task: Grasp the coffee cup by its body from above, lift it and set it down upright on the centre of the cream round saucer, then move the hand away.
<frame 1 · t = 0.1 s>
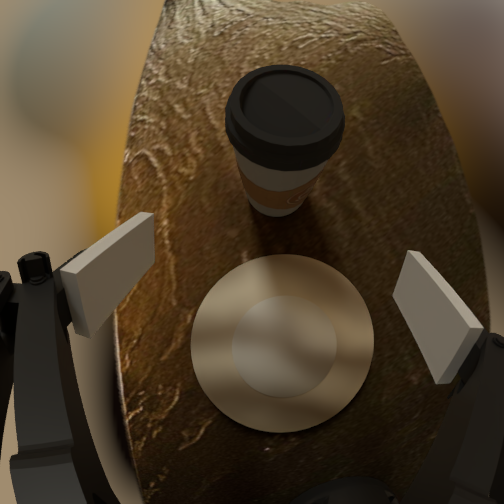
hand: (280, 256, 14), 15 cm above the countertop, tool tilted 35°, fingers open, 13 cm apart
coffee cup: (275, 191, 32), on the countertop
cream round saucer: (283, 345, 28), on the countertop
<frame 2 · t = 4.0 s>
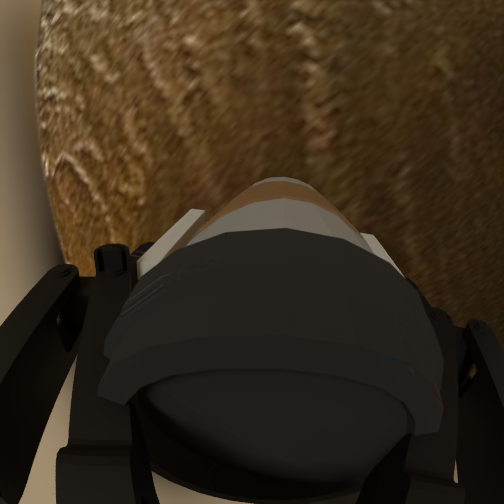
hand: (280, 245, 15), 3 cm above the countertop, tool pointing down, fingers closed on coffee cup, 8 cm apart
coffee cup: (281, 224, 19), on the countertop, touching gripper
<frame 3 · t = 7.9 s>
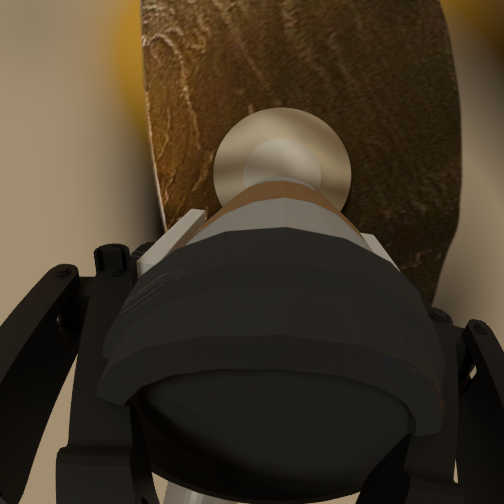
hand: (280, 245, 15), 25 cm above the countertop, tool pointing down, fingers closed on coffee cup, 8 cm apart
coffee cup: (281, 224, 19), point 21 cm above the countertop, touching gripper
cream round saucer: (282, 174, 38), on the countertop
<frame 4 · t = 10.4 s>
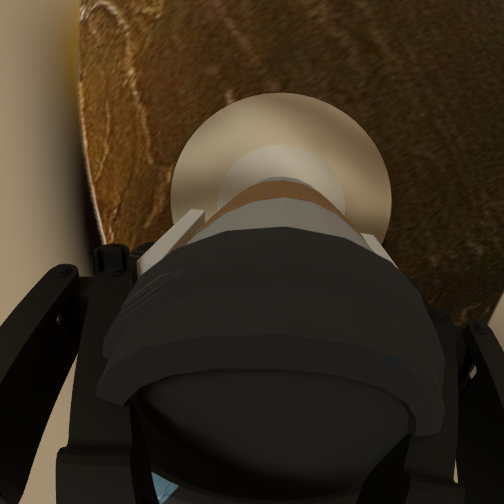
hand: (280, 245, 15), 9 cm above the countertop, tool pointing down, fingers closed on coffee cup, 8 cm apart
coffee cup: (281, 224, 19), point 6 cm above the countertop, touching gripper
cream round saucer: (281, 204, 24), on the countertop
when the fingers open (6 cm above the countertop, at t = 12.1 s): coffee cup drops 1 cm, resting on cream round saucer.
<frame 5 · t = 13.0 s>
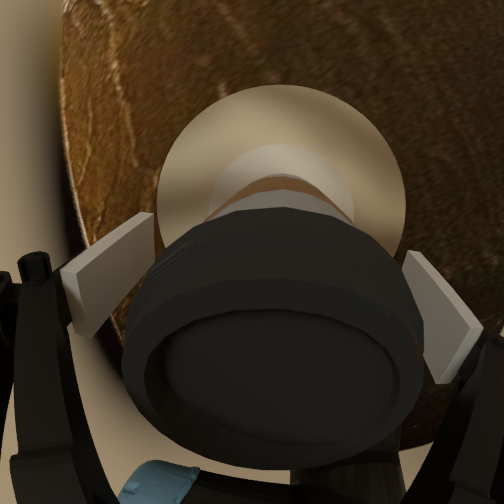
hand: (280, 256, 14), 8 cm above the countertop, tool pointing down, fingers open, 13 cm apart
coffee cup: (281, 218, 20), point 2 cm above the countertop, touching cream round saucer
cream round saucer: (281, 211, 21), on the countertop
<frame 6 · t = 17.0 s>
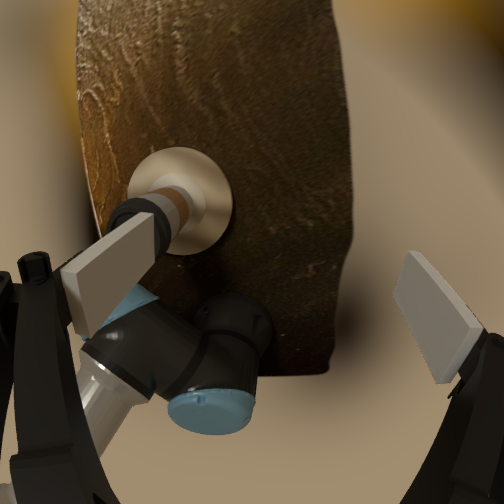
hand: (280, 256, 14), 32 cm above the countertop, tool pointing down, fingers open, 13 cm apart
coffee cup: (175, 203, 45), point 2 cm above the countertop, touching cream round saucer
cream round saucer: (178, 201, 47), on the countertop
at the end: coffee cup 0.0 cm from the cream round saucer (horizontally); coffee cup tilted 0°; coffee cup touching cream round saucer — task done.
